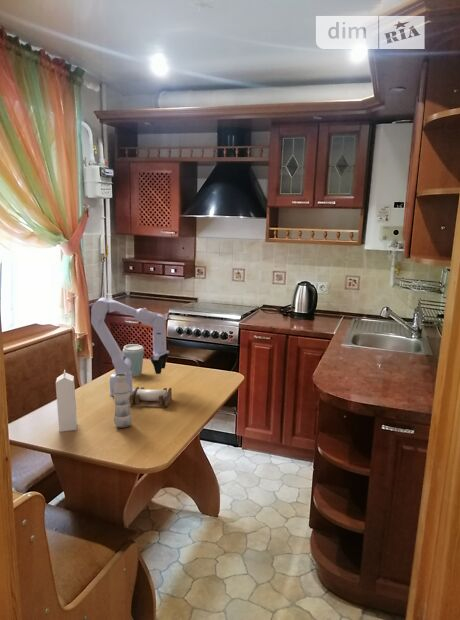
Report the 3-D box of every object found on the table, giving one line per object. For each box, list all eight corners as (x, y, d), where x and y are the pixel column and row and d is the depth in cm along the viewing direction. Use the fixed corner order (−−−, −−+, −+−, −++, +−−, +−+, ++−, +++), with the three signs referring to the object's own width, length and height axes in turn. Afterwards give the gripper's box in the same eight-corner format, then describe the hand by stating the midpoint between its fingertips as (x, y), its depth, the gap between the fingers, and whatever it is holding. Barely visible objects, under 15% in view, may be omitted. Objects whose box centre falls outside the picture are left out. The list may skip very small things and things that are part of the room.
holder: (130, 406, 187) (130, 395, 186) (137, 397, 197) (137, 386, 196) (166, 408, 186) (166, 396, 185) (171, 398, 195) (171, 388, 194)
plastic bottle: (116, 431, 165) (114, 379, 161) (112, 424, 170) (110, 373, 167) (134, 427, 168) (132, 376, 164) (129, 420, 173) (127, 371, 170)
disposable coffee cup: (149, 372, 230) (148, 344, 227) (137, 379, 220) (136, 349, 217) (131, 370, 234) (130, 342, 231) (119, 376, 224) (118, 347, 221)
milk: (59, 432, 164) (54, 374, 160) (60, 425, 170) (55, 369, 166) (76, 430, 166) (72, 372, 161) (77, 423, 171) (73, 367, 167)
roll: (135, 400, 189) (136, 389, 189) (138, 400, 193) (139, 389, 194) (164, 401, 188) (164, 390, 189) (166, 401, 192) (167, 389, 193)
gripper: (164, 346, 192) (165, 376, 194) (171, 337, 206) (172, 366, 209) (148, 345, 192) (149, 376, 195) (156, 337, 207) (157, 365, 209)
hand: (160, 370), depth 202 cm, fingers open, 7 cm apart
